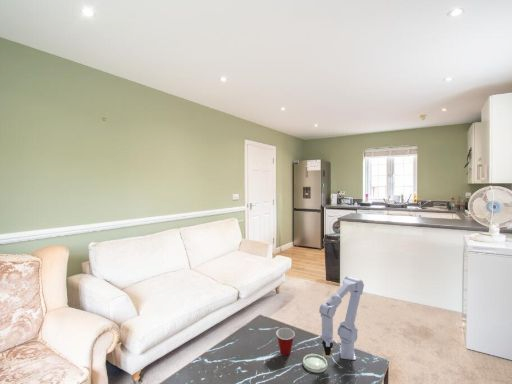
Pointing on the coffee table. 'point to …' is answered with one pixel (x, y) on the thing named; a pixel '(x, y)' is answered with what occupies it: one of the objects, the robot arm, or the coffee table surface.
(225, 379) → the coffee table surface
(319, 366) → the celadon dish
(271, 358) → the coffee table surface
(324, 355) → the birch block
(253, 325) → the coffee table surface
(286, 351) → the plastic cup
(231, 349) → the coffee table surface
